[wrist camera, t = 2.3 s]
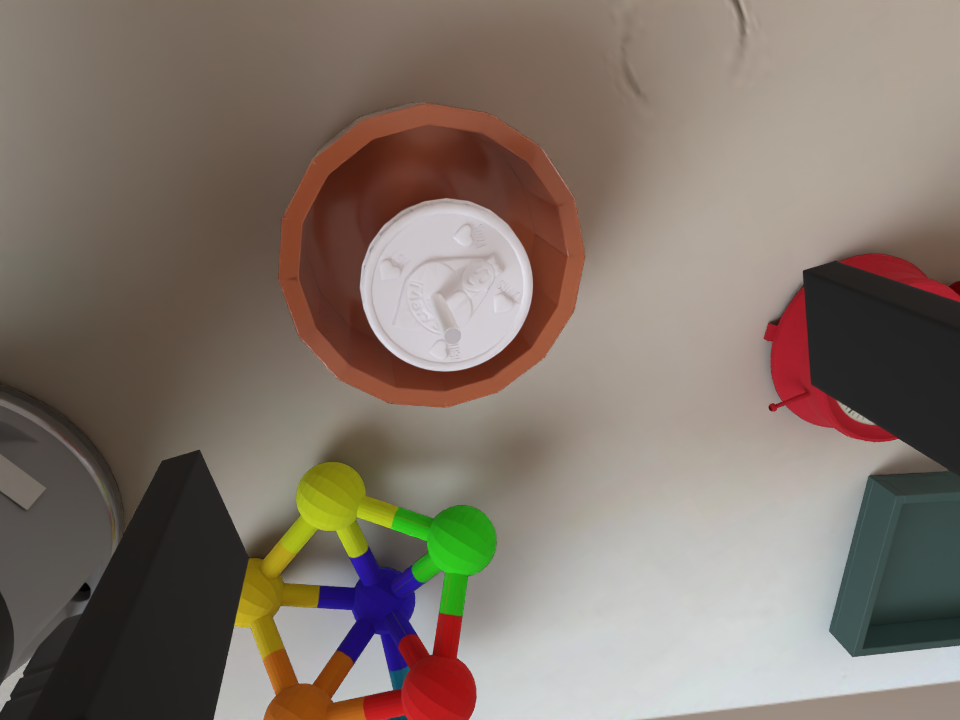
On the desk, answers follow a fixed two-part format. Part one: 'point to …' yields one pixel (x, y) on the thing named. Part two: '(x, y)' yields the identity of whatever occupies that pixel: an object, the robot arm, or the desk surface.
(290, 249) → the pot
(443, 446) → the desk surface
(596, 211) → the desk surface
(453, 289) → the smoothie
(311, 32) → the desk surface
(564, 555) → the desk surface
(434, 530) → the molecular model
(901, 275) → the alarm clock
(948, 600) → the tray
